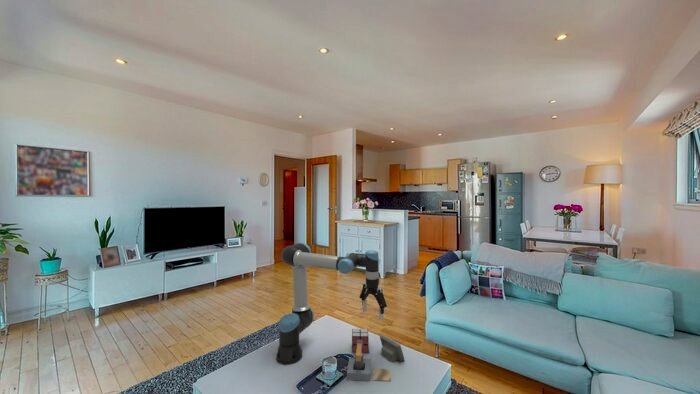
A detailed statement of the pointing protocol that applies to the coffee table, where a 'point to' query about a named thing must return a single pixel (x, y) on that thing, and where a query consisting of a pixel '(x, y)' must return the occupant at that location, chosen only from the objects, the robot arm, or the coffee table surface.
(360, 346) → the wooden handle
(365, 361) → the socket
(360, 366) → the plug
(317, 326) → the coffee table surface
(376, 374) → the coaster
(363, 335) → the puzzle cube
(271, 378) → the coffee table surface
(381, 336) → the digital clock
